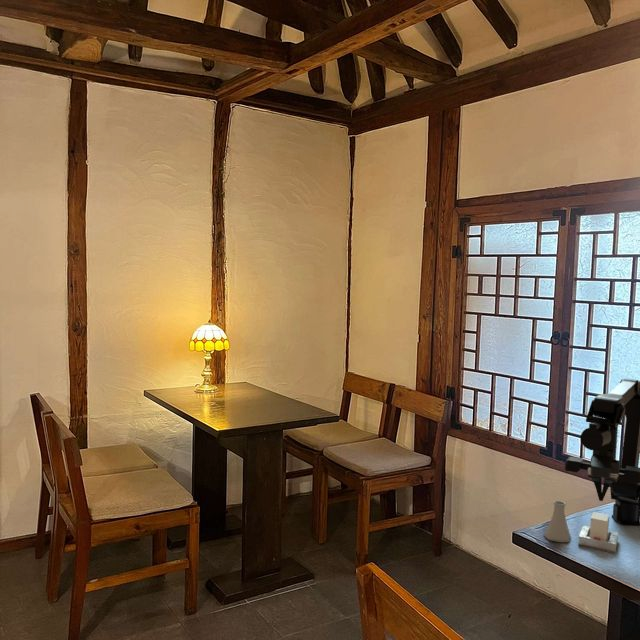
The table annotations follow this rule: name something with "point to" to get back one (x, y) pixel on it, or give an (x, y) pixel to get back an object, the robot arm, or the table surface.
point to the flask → (558, 524)
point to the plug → (599, 526)
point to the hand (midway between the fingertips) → (601, 500)
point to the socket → (598, 540)
